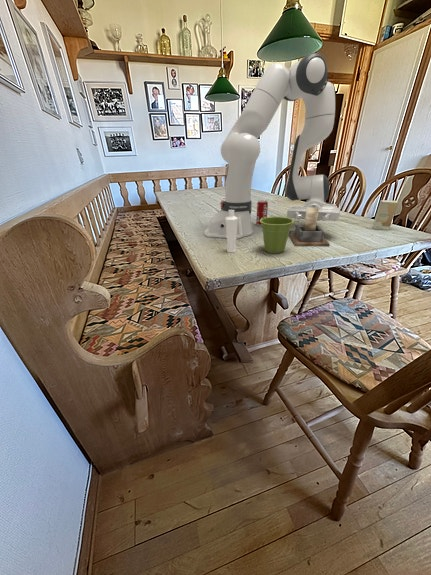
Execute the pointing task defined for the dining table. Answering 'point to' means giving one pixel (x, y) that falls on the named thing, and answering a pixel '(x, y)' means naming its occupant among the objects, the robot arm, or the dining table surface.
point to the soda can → (261, 211)
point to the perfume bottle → (231, 231)
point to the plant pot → (275, 233)
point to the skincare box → (385, 214)
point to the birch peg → (311, 219)
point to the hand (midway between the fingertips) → (311, 217)
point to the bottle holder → (308, 237)
